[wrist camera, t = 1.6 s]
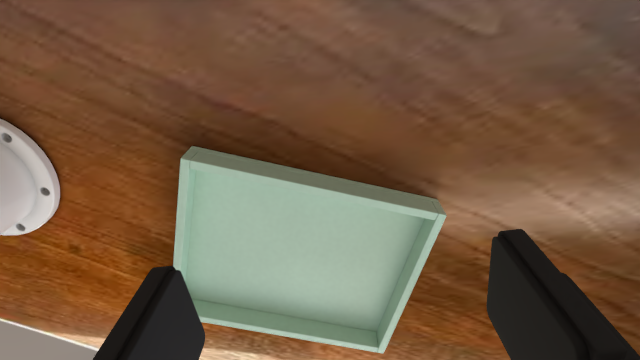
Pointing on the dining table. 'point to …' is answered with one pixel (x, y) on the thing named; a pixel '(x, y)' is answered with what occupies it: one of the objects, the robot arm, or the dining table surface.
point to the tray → (298, 249)
